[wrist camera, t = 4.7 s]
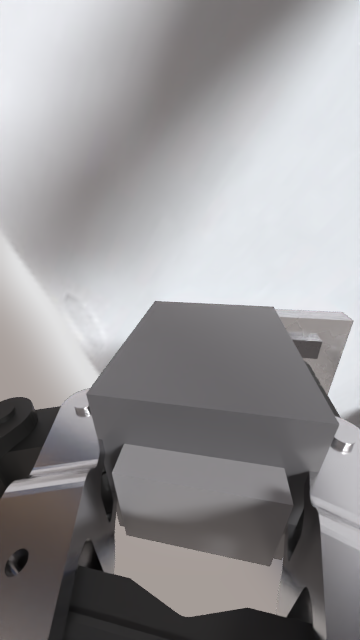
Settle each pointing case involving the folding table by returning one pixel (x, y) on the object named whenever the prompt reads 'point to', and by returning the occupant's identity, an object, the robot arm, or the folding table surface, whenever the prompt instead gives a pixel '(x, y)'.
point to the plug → (211, 429)
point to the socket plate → (318, 339)
